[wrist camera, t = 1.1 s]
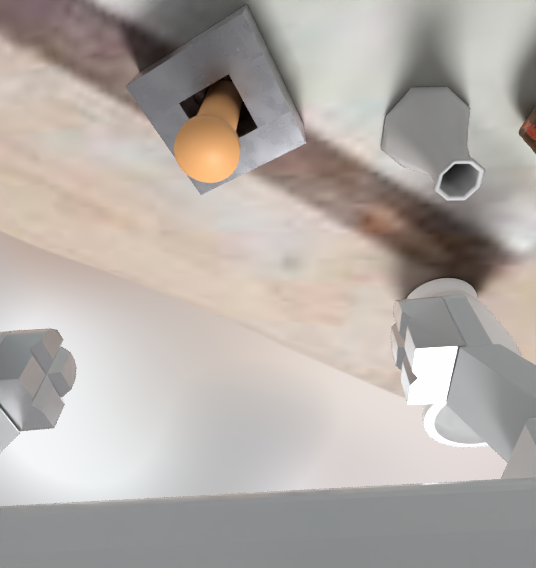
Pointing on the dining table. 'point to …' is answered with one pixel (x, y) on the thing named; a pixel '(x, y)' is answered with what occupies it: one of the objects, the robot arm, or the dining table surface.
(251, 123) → the metal block with hole
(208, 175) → the wooden peg
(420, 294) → the jar
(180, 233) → the dining table surface
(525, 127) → the tin
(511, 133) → the dining table surface
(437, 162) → the flask
